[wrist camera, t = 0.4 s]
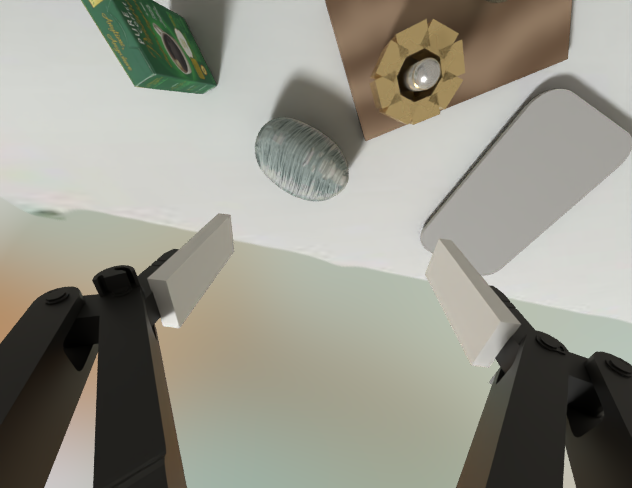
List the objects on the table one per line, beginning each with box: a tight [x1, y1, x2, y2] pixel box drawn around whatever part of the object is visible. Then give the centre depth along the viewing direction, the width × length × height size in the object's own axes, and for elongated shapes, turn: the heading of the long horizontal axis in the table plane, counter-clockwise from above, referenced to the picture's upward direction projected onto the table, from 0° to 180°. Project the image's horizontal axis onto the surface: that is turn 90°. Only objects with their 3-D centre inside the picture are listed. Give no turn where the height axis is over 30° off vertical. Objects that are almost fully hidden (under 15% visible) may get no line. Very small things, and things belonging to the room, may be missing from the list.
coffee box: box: [81, 0, 217, 94], centre depth 26 cm, size 8×3×13 cm, turn 22°
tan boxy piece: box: [370, 19, 465, 125], centre depth 26 cm, size 8×8×5 cm
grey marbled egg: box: [255, 118, 349, 201], centre depth 34 cm, size 14×10×10 cm
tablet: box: [420, 89, 632, 276], centre depth 37 cm, size 16×26×2 cm, turn 154°
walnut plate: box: [325, 0, 572, 141], centre depth 28 cm, size 16×24×2 cm, turn 112°
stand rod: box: [397, 57, 441, 100], centre depth 26 cm, size 6×6×11 cm
